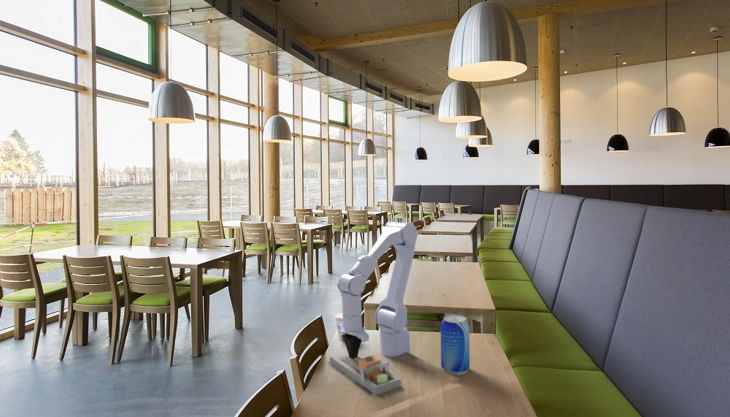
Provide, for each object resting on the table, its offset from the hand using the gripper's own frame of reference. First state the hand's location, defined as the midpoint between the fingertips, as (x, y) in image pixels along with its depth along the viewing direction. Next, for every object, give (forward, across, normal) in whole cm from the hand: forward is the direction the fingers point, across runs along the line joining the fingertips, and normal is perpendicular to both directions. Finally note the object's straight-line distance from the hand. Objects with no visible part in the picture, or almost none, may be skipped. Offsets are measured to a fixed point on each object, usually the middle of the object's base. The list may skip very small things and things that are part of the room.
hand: (353, 357), depth 133 cm
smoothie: (+4, -22, +10) cm, 24 cm away
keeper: (+3, +10, 0) cm, 11 cm away
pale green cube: (+3, +15, 0) cm, 15 cm away
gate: (+4, +12, 0) cm, 12 cm away
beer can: (+4, +18, +25) cm, 31 cm away
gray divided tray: (+4, +5, 0) cm, 7 cm away
